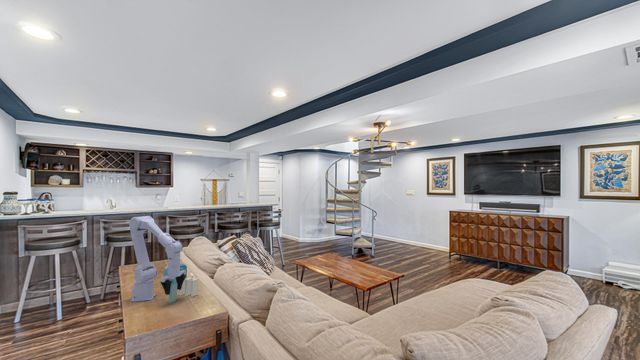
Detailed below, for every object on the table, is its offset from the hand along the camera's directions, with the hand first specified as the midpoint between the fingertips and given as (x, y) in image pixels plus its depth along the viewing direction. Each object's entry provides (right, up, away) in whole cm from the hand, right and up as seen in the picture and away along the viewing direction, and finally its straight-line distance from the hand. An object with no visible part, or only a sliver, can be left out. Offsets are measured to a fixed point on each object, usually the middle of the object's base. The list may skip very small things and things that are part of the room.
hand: (173, 291), depth 147 cm
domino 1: (0, -5, +10) cm, 12 cm away
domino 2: (+4, -5, +9) cm, 11 cm away
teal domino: (0, -5, 0) cm, 5 cm away
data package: (-12, -6, +25) cm, 29 cm away
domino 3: (+7, -5, +8) cm, 12 cm away
